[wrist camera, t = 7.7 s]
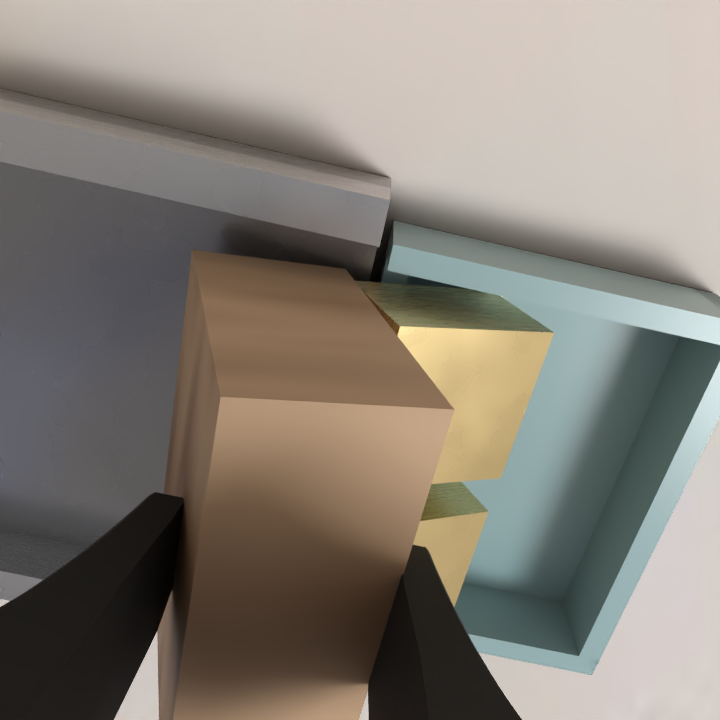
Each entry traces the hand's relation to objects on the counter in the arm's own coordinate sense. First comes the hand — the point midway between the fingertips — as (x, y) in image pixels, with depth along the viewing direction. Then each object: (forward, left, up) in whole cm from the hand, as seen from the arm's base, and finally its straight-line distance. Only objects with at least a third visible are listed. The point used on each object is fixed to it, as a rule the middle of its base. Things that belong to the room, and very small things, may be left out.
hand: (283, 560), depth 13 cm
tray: (0, -5, -7) cm, 8 cm away
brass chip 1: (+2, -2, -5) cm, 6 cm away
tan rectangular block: (0, +2, -4) cm, 5 cm away
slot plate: (0, +4, -7) cm, 8 cm away
